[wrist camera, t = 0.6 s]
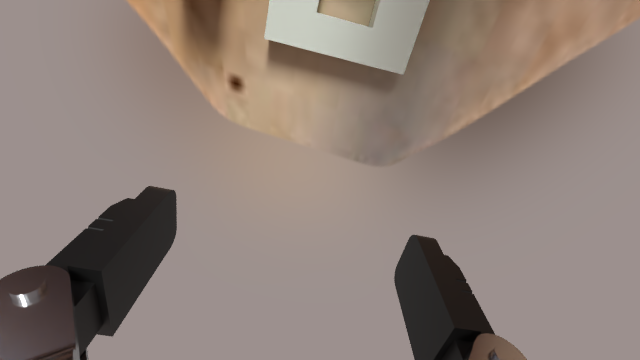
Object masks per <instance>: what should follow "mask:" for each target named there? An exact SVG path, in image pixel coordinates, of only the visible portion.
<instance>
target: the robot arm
mask: <svg viewBox="0 0 640 360" xmlns="http://www.w3.org/2000/svg"><path fill="white" fill-rule="evenodd" d="M176 223H177V222H176V193H175V191H174V190H169V189H164V188H158V187H153V186H148V187H147V188H145V190H144V191H143V192H142V193H140V194H139V196H137V197H136V198H135V199H130V198H127V199H125V200H122V201H120V202H118V203H116V204H114V205H112V206H110V207H109V208H108V209H107V210H106V211H105V212H103V213H102V214H101V215H100V216H99V218H98V219H96V220H95V221H94V222H92V223H91V224H90V225H89V227H88V229H85V230H84V231H83V232H82V233H80V234H79V235H78V236H77V237H76V238H75V239H74V240H73V241H71V242H70V243H69V244H68V245H67V246H66V247H65V248H64V249H63V250H62V251H60V253H58V254H57V255H56V256H55V257H54V258H53V259H52V260H51V261H49V262H48V263H47V264H46V265H42V266H34V267H29V268H25V269H21V270H19V271H16V272H13V273H11V274H9V275H7V276H5V277H3V278H1V279H0V360H88V351H87V347H88V345H89V344H90V342H91V341H92V339H93V338H94V337H95V335H96V334H99V335H106V336H113V335H114V333H115V332H116V330H117V329H118V327H119V326H120V324H121V323H122V321H123V320H124V318H125V317H126V315H127V314H128V312H129V310H130V309H131V307H132V306H133V304H134V303H135V301H136V300H137V298H138V296H139V295H140V294H141V292H142V291H143V289H144V287H145V286H146V284H147V283H148V281H149V280H150V278H151V277H152V275H153V274H154V272H155V271H156V269H157V267H158V266H159V264H160V263H161V261H162V260H163V258H164V257H165V255H166V254H167V252H168V251H169V249H170V248H171V246H172V244H173V241H174V239H175V235H176V228H177V226H176V225H177V224H176ZM395 286H396V290H397V294H398V297H399V302H400V305H401V309H402V313H403V317H404V321H405V325H406V328H407V332H408V336H409V340H410V344H411V347H412V351H413V355H414V359H415V360H527V359H526V358H525V356H524V355H523V354H522V353H521V352H520V351H519V350H518V349H517V348H516V347H515V346H514V345H512V344H511V343H510V342H508V341H507V340H505V339H504V338H502V337H499V336H497V335H495V333H494V331H493V330H492V328H491V326H490V324H489V322H488V321H487V319H486V316H485V315H484V313H483V311H482V309H481V307H480V305H479V303H478V301H477V300H476V298H475V296H474V294H472V290H471V288H470V287H469V285H468V283H466V279H465V277H464V275H463V273H462V272H461V270H460V268H459V267H458V266H457V265H456V264H455V263H454V262H453V260H452V259H451V258H450V257H449V256H446V255H444V254H443V252H442V250H441V248H440V246H439V244H438V242H437V241H436V239H434V238H429V237H423V236H418V235H412V236H411V237H410V238H409V240H408V242H407V245H406V246H405V249H404V251H403V253H402V255H401V258H400V260H399V262H398V264H397V267H396V270H395Z"/></svg>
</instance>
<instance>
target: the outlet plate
mask: <svg viewBox="0 0 640 360" xmlns="http://www.w3.org/2000/svg"><path fill="white" fill-rule="evenodd" d="M429 1H430V0H376V1H375V5H374V8H373V12H372V15H371V19H370V22H369V26H365V25H361V24H357V23H354V22H350V21H346V20H343V19H339V18H335V17H332V16H328V15H324V14H321V13H317V9H318V4H319V0H270V2H269V9H268V16H267V23H266V30H265V37H264V39H268V40H271V41H275V42H279V43H283V44H287V45H291V46H294V47H298V48H302V49H306V50H310V51H314V52H317V53H321V54H325V55H329V56H333V57H337V58H340V59H344V60H348V61H352V62H356V63H360V64H363V65H367V66H371V67H375V68H379V69H383V70H386V71H390V72H394V73H398V74H402V75H404V72H405V69H406V66H407V63H408V60H409V58H410V55H411V52H412V49H413V46H414V43H415V41H416V38H417V35H418V32H419V29H420V26H421V23H422V21H423V18H424V15H425V12H426V9H427V6H428V4H429Z"/></svg>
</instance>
